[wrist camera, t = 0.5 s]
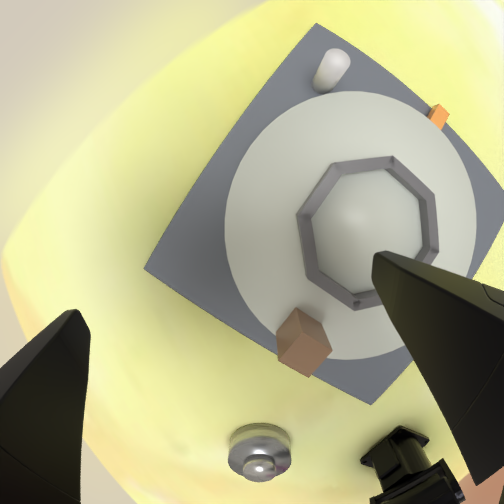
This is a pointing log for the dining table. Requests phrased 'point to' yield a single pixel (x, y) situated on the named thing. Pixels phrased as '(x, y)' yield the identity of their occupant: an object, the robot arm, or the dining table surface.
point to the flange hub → (259, 452)
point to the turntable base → (223, 171)
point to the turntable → (343, 220)
